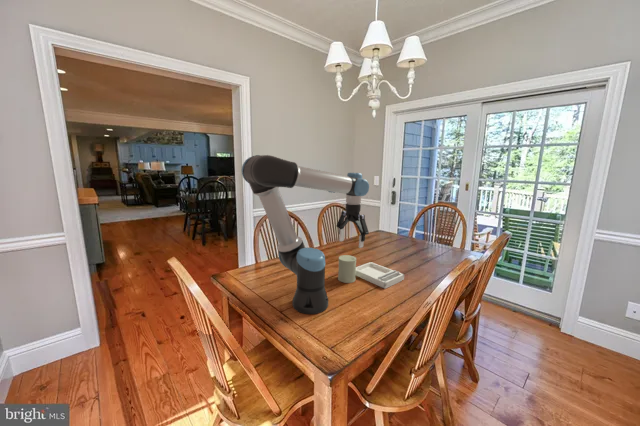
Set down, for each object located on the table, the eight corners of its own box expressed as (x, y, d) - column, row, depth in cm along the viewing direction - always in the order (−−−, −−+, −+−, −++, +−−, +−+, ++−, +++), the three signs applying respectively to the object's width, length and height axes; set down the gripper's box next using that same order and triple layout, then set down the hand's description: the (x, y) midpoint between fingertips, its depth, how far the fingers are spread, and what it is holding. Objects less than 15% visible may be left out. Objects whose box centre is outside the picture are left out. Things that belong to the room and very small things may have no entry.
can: (354, 283, 131) (356, 261, 129) (336, 282, 133) (337, 259, 130) (356, 276, 140) (357, 254, 137) (339, 274, 141) (339, 253, 139)
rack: (385, 288, 126) (385, 281, 125) (351, 273, 143) (352, 266, 142) (403, 279, 136) (404, 272, 136) (370, 266, 153) (371, 260, 152)
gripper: (378, 206, 125) (374, 248, 129) (340, 200, 144) (339, 237, 147) (368, 207, 120) (364, 251, 124) (331, 200, 139) (329, 239, 143)
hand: (350, 244), depth 136 cm, fingers open, 13 cm apart
